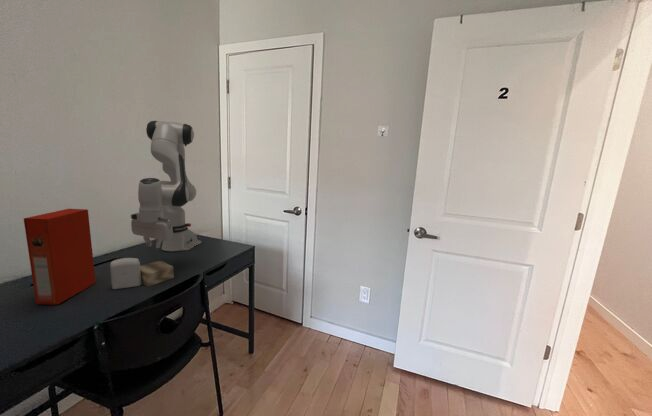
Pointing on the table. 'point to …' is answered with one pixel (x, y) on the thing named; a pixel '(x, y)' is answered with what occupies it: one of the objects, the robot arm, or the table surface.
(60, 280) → the file binder
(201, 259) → the table surface
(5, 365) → the table surface
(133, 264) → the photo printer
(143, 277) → the oak box
